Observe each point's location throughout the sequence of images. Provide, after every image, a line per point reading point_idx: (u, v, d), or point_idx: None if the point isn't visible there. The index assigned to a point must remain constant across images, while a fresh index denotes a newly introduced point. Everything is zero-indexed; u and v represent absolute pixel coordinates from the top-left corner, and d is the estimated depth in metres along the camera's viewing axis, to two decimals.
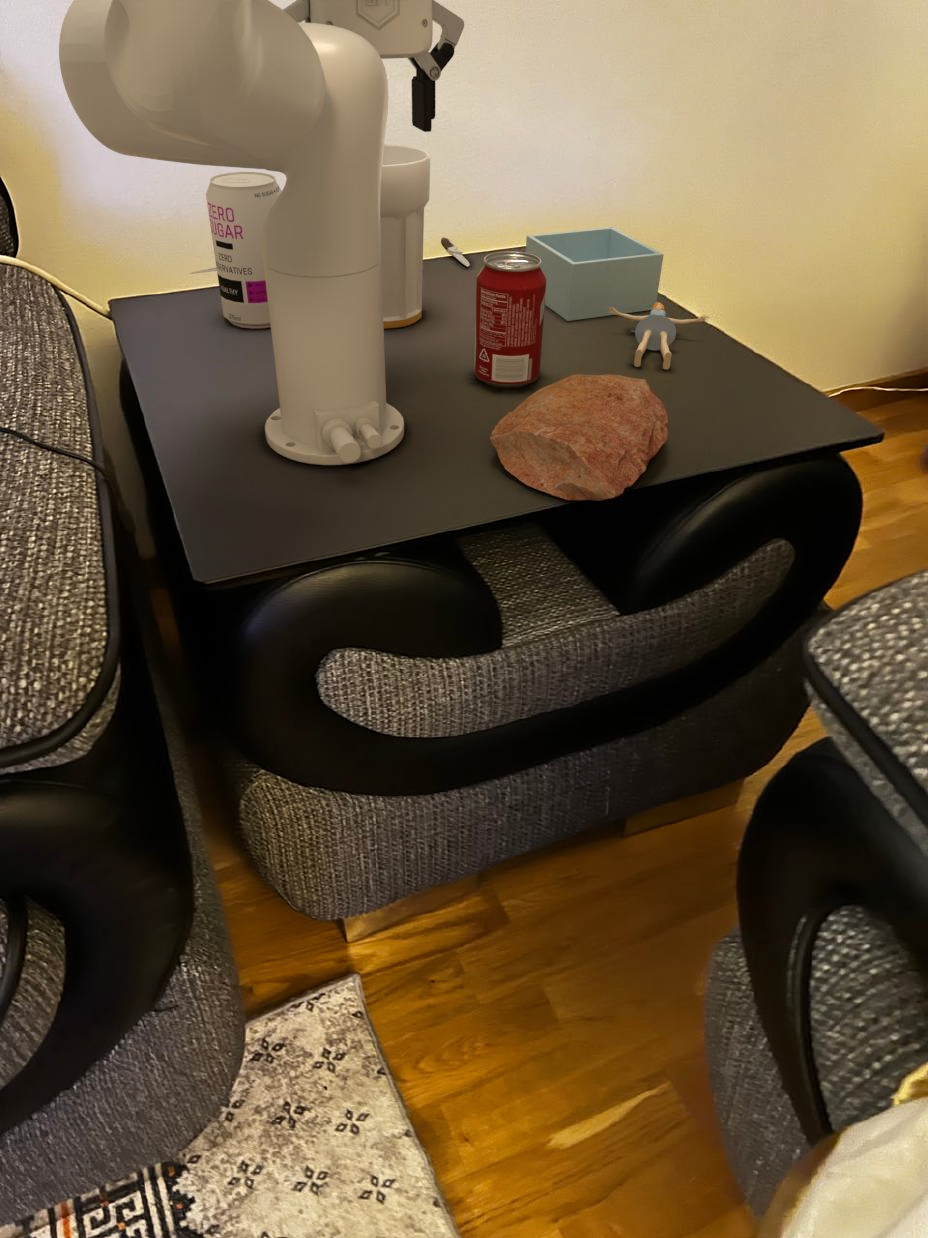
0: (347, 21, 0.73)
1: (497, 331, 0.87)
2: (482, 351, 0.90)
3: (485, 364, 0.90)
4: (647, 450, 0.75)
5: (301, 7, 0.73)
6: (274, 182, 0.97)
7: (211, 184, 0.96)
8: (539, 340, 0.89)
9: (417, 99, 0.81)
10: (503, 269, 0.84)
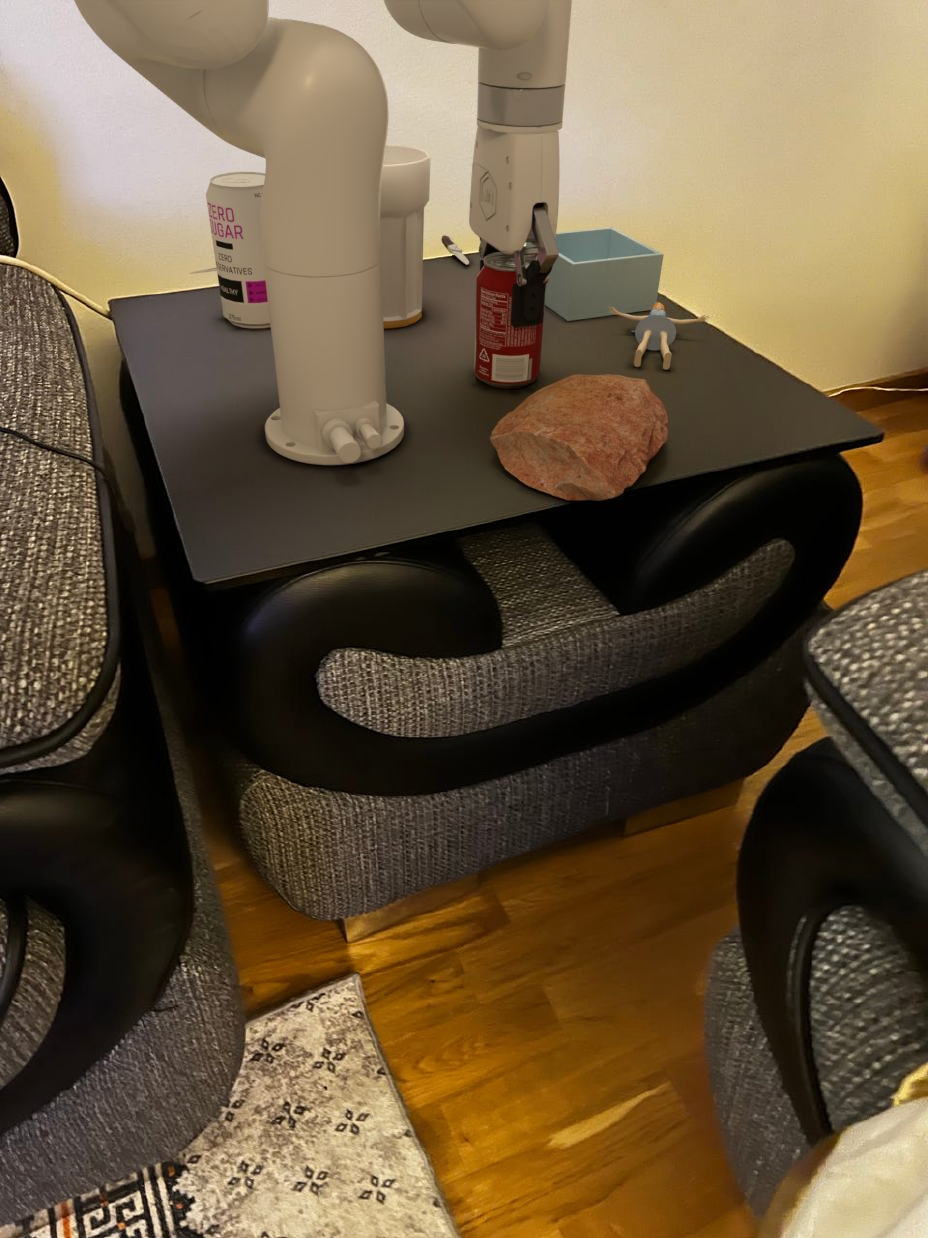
0: (476, 207, 0.85)
1: (497, 330, 0.87)
2: (482, 351, 0.90)
3: (485, 363, 0.90)
4: (647, 450, 0.75)
5: None
6: None
7: (211, 184, 0.96)
8: (539, 340, 0.89)
9: None
10: (503, 269, 0.84)
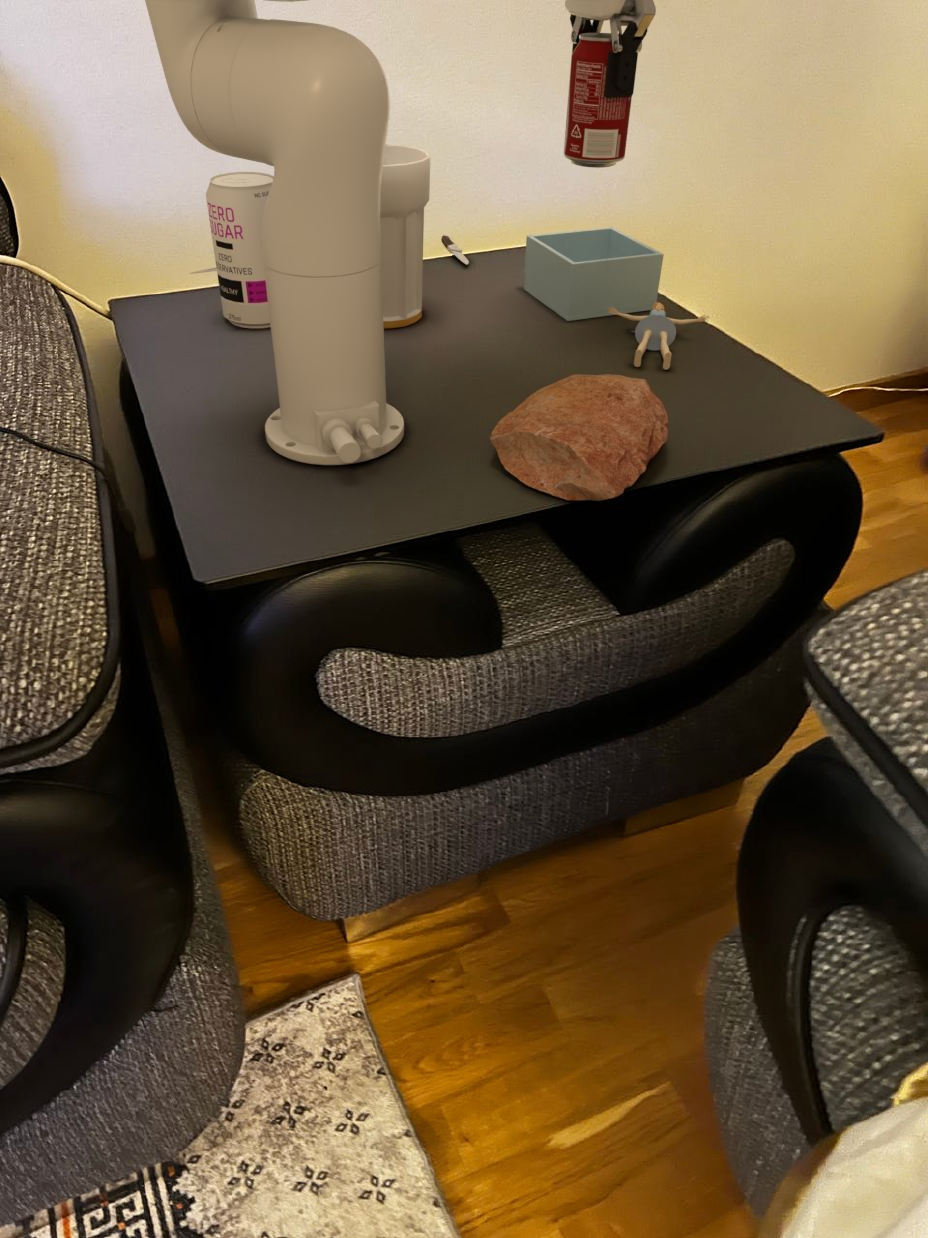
0: None
1: (590, 103, 0.95)
2: (574, 128, 0.97)
3: (577, 140, 0.97)
4: (647, 450, 0.75)
5: None
6: None
7: (211, 184, 0.96)
8: (627, 117, 0.97)
9: None
10: (599, 39, 0.92)
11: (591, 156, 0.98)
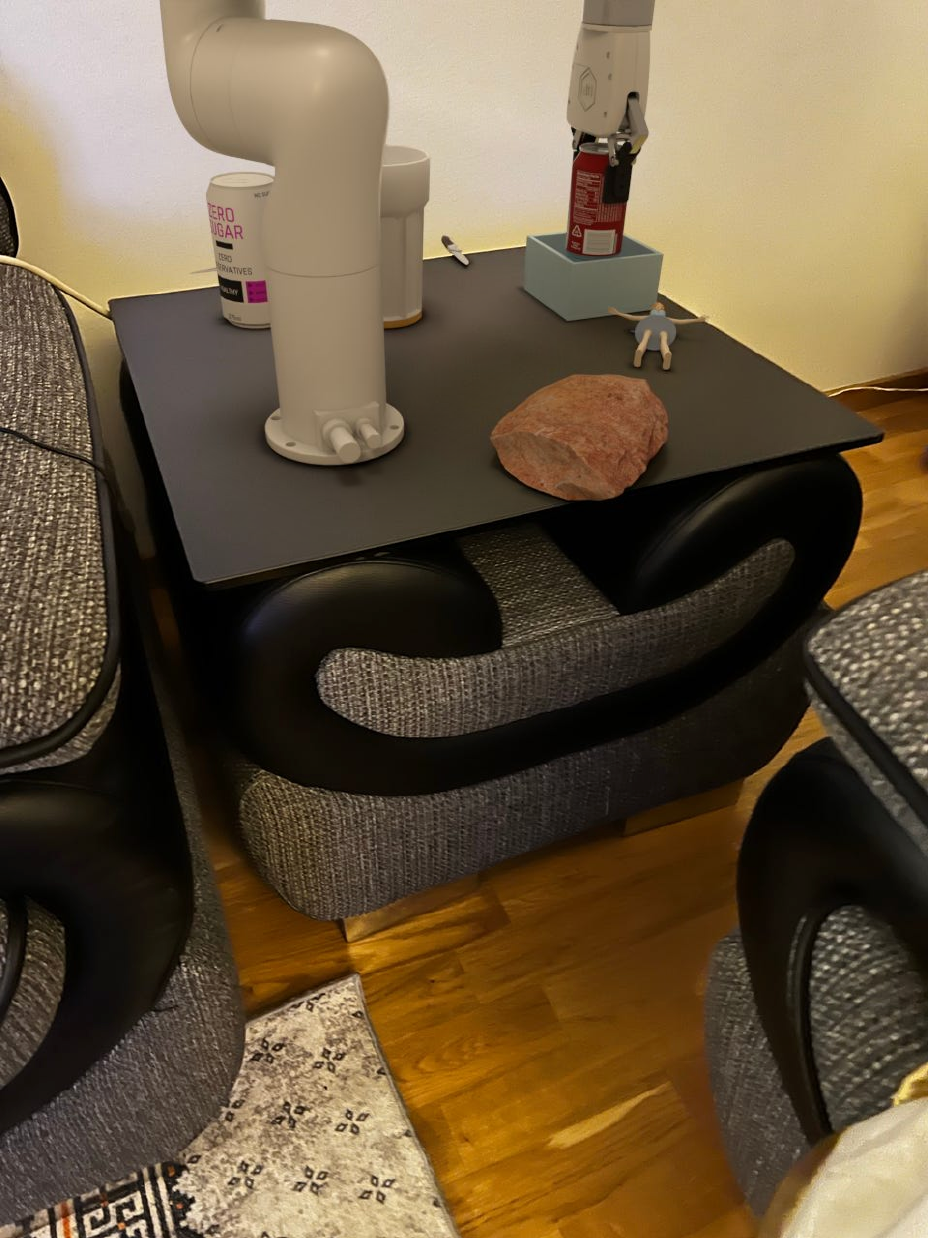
0: (574, 101, 1.01)
1: (589, 208, 1.04)
2: (575, 228, 1.06)
3: (578, 238, 1.07)
4: (647, 450, 0.75)
5: None
6: None
7: (211, 184, 0.96)
8: (623, 218, 1.06)
9: None
10: (598, 152, 1.01)
11: (590, 253, 1.07)
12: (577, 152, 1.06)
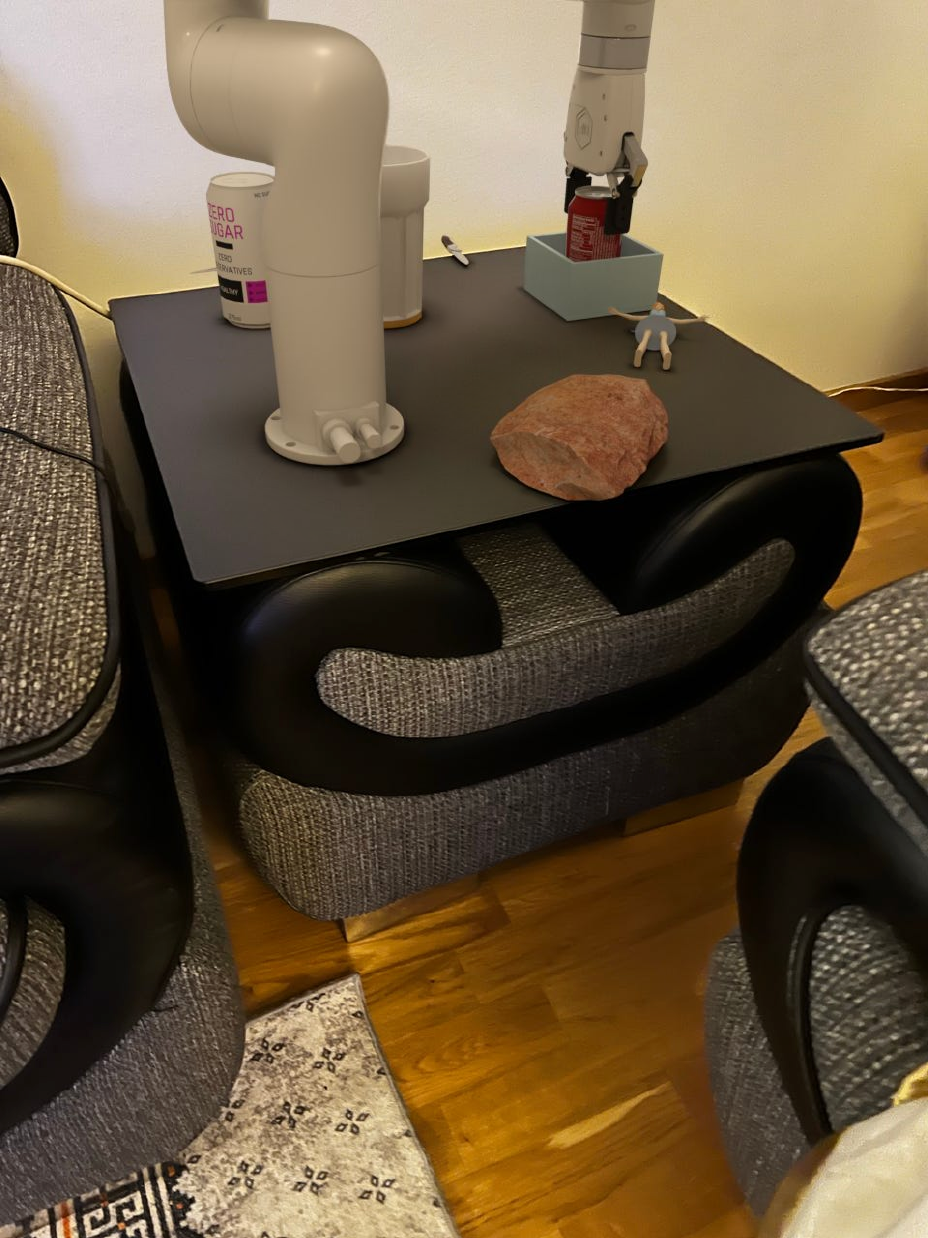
0: (571, 139, 1.04)
1: (585, 250, 1.07)
2: None
3: None
4: (647, 450, 0.75)
5: None
6: None
7: (211, 184, 0.96)
8: None
9: None
10: (593, 197, 1.04)
11: None
12: (570, 179, 1.08)
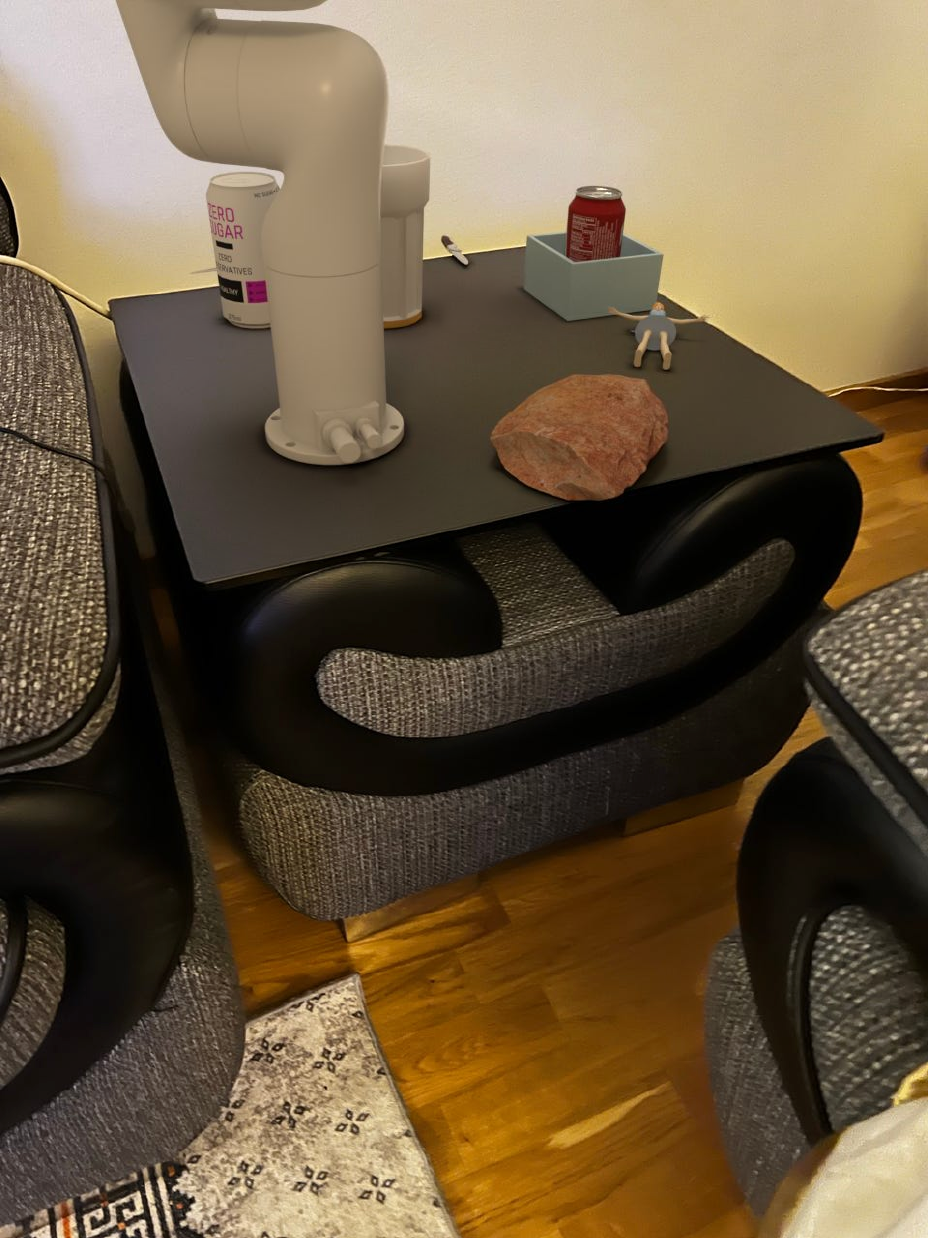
0: None
1: (585, 250, 1.07)
2: None
3: None
4: (647, 450, 0.75)
5: None
6: (274, 182, 0.97)
7: (211, 184, 0.96)
8: None
9: None
10: (593, 197, 1.04)
11: None
12: None
